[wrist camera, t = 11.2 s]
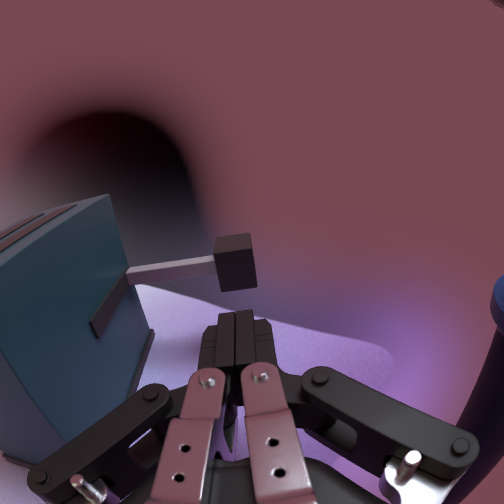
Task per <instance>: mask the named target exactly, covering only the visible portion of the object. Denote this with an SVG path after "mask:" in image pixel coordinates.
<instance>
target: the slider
mask: <svg viewBox="0 0 504 504" xmlns="http://www.w3.org/2000/svg"><path fill="white" fill-rule="evenodd" d="M212 274H217V275H218V280H219V285H220V289H221V292H228V291H235V290H242V289H249V288H256V287H257V279H256V270H255V263H254V256H253V250H252V243H251V237H250V233H244V234H237V235H230V236H224V237H217V238H216V242H215V248H214V253H213V255H212V256H205V257H198V258H191V259H185V260H179V261H171V262H165V263H157V264H151V265H144V266H137V267H130V268H129V269H128V270H127V272H126V277H127V280H128V283H129V285H138V284H145V283H153V282H161V281H167V280H176V279H183V278H190V277H198V276H205V275H212Z"/></svg>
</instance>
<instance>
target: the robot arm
mask: <svg viewBox="0 0 504 504" xmlns="http://www.w3.org/2000/svg"><path fill="white" fill-rule="evenodd" d="M490 1H491V2H493V3H494V4H495V5H497V6H499V7H501V8H504V0H490ZM237 406H244V408H245V417H244V418H245V427H246V434H247V442H248V449H249V456H250V457H249V458H246V459H242V460H239V461H235V452H236V441H237V430H238V418H237ZM150 428H151V431H150V432H149V433H148V434H146V435H145V436H144V437H143V438H141V439H140V440H139V441H138V442H137V443H135V444H134V445H133V446H132V447H130V448H129V446H130V445H131V444H132V443H133V442H134V441H135V440H137V439H138V438H139V437H140V436H142V435H143V434H144V433H145V432H146V431H148V430H149V429H150ZM296 428H302V429H304V431H305V432H306V433H307V434H308V435H309V436H311V437H313V438H314V439H316V440H317V441H319V442H320V443H322V444H323V445H325V446H326V447H328V448H330V449H331V450H333V451H334V452H336V453H338V454H339V455H341V456H342V457H344V458H346V459H347V460H349V461H351V462H352V463H354V464H356V465H357V466H359V467H361V468H363V469H364V470H366V471H368V472H370V473H371V474H373V475H375V476H377V477H379V478H380V481H379V489H380V492H381V493H382V495H383V496H384V497H386V498H387V499H388V500H389V501H390V502H391V504H442V502H443V501H444V499H445V498H446V496H447V494H448V493H449V491H450V490H451V489H452V487H453V486H454V485H455V484H456V483H457V482H458V481H459V479H460V478H461V477H462V476H463V475H464V473H465V472H466V471H467V470H468V468H469V467H470V466H471V465H472V463H473V462H474V461H475V459H476V458H477V456H478V454H479V451H480V445H479V441H478V439H477V438H476V437H475V436H474V435H473V434H472V433H470V432H468V431H466V430H463V429H461V428H459V427H456V426H454V425H451V424H449V423H447V422H444V421H442V420H439V419H437V418H435V417H433V416H430V415H428V414H426V413H423V412H421V411H419V410H417V409H415V408H412V407H410V406H408V405H406V404H404V403H402V402H399V401H397V400H395V399H393V398H391V397H389V396H387V395H385V394H382V393H380V392H378V391H376V390H374V389H372V388H370V387H368V386H366V385H364V384H362V383H360V382H358V381H356V380H354V379H352V378H350V377H348V376H346V375H344V374H342V373H340V372H338V371H336V370H334V369H332V368H329V367H324V366H319V367H314V368H311V369H309V370H307V371H306V372H305V373H304V374H303V375H302V376H299V375H291V374H288V373H285V372H283V371H282V370H281V369H280V368H279V367H278V364H277V359H276V353H275V346H274V340H273V333H272V327H271V324H270V323H269V322H268V321H267V320H266V319H260V320H254V316H253V311H252V309H251V310H244V311H236V313H235V312H229V313H221V314H219V315H218V324H217V325H213V326H208V327H207V329H206V330H205V331H204V333H203V336H202V343H201V349H200V356H199V363H198V370H197V371H196V372H195V373H194V374H193V375H192V376H191V377H190V379H189V382H188V384H187V385H185V386H183V387H180V388H177V389H174V390H170V391H169V390H168V388H167V387H166V386H164V385H162V384H156V383H154V384H149V385H146V386H144V387H142V388H141V389H140V390H138V391H137V392H136V393H134V394H133V395H132V396H130V397H129V398H128V399H126V400H125V401H124V402H122V403H121V404H120V405H119V406H117V407H116V408H115V409H113V410H112V411H110V412H109V413H108V414H106V415H105V416H104V417H102V418H101V419H100V420H98V421H97V422H96V423H94V424H93V425H92V426H90V427H89V428H87V429H86V430H85V431H83V432H82V433H81V434H79V435H78V436H76V437H75V438H74V439H72V440H71V441H69V442H68V443H67V444H65V445H64V446H62V447H61V448H60V449H58V450H57V451H55V452H54V453H53V454H51V455H50V456H48V457H47V458H45V459H44V460H43V461H41V462H40V463H38V464H37V465H35V466H34V467H33V468H32V469H31V470H30V471H29V473H28V476H27V484H28V486H29V488H30V489H31V491H33V492H34V493H35V494H36V495H38V496H39V497H40V498H41V499H43V501H44V502H45V503H47V504H388V503H386V502H385V501H383V500H381V499H380V498H378V497H376V496H375V495H373V494H371V493H370V492H368V491H367V490H365V489H363V488H362V487H360V486H359V485H357V484H356V483H354V482H353V481H351V480H350V479H348V478H347V477H345V476H344V475H342V474H341V473H339V472H338V471H336V470H335V469H334V468H332V467H331V466H329V465H327V464H325V463H323V462H321V461H318V460H316V459H312V458H308V457H304V455H303V451H302V448H301V444H300V441H299V437H298V434H297V430H296ZM128 448H129V449H128ZM132 491H133V492H132ZM131 492H132V493H131ZM130 493H131V494H130ZM127 495H128V496H127ZM126 496H127V497H126ZM125 497H126V498H125ZM124 498H125V499H124ZM122 499H124V500H122ZM121 500H122V501H121ZM120 501H121V502H120Z"/></svg>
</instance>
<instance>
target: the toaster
mask: <svg viewBox="0 0 504 504" xmlns="http://www.w3.org/2000/svg"><path fill="white" fill-rule="evenodd" d="M128 269H129V266H128V263H127V259H126V256H125V252H124V249H123V245H122V242H121V238H120V235H119V231H118V227H117V223H116V219H115V216H114V212H113V207H112V204H111V199H110V195H109V194H106V195H102V196H97V197H94V198H89V199H85V200H82V201H78V202H74V203H70V204H67V205H63V206H59V207H56V208H52V209H49V210H45V211H42V212H38V213H35V214H32V215H28V216H27V217H25V218H23V219H21V220H19V221H17V222H16V223H14V224H12V225H10V226H9V227H7V228H5V229H4V230H2V231H0V449H1V450H2V451H3V452H4V454H3V457H4V458H5V459H6V460H7V461H10V462H12V463H15V464H18V465H21V466H24V467H27V468H30V469H32V468H33V467H34V466H35V465H37V464H38V463H40V462H41V461H43V460H44V459H45V458H47V457H48V456H50V455H51V454H53V453H54V452H55V451H57V450H58V449H60V448H61V447H62V446H64V445H65V444H67V443H68V442H69V441H71V440H72V439H74V438H75V437H76V436H78V435H79V434H81V433H82V432H83V431H85V430H86V429H87V428H89V427H90V426H92V425H93V424H94V423H96V422H97V421H98V420H100V419H101V418H102V417H104V416H105V415H106V414H108V413H109V412H110V411H112V410H113V409H115V408H116V407H117V406H119V405H120V404H121V403H122V402H124V401H125V400H126V399H128V398H129V397H130V396H132V395H133V394H134V393H135V392H136V389H137V386H138V383H139V380H140V377H141V374H142V371H143V368H144V365H145V362H146V359H147V356H148V353H149V350H150V347H151V344H152V341H153V339H154V336H155V333H154V330H153V329H150V328H149V326H148V323H147V320H146V317H145V315H144V312H143V309H142V306H141V303H140V300H139V297H138V294H137V291H136V288H135V285H129V283H128V280H127V277H126V272H127V270H128Z"/></svg>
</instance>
